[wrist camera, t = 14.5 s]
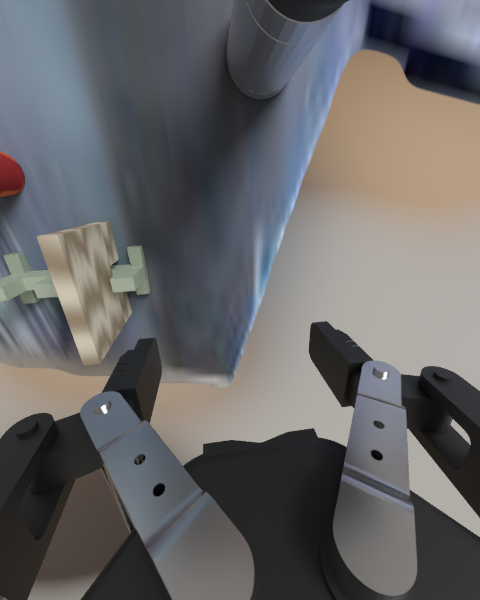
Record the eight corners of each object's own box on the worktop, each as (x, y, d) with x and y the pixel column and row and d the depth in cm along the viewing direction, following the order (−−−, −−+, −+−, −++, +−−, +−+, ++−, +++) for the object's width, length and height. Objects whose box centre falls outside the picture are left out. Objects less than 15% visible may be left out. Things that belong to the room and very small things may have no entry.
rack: (10, 253, 39) (-35, 266, 32) (142, 245, 41) (128, 256, 34) (29, 300, 42) (-8, 322, 35) (150, 290, 44) (139, 309, 37)
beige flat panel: (96, 222, 39) (36, 236, 25) (109, 221, 39) (57, 235, 25) (120, 313, 45) (83, 365, 31) (132, 312, 45) (100, 363, 32)
